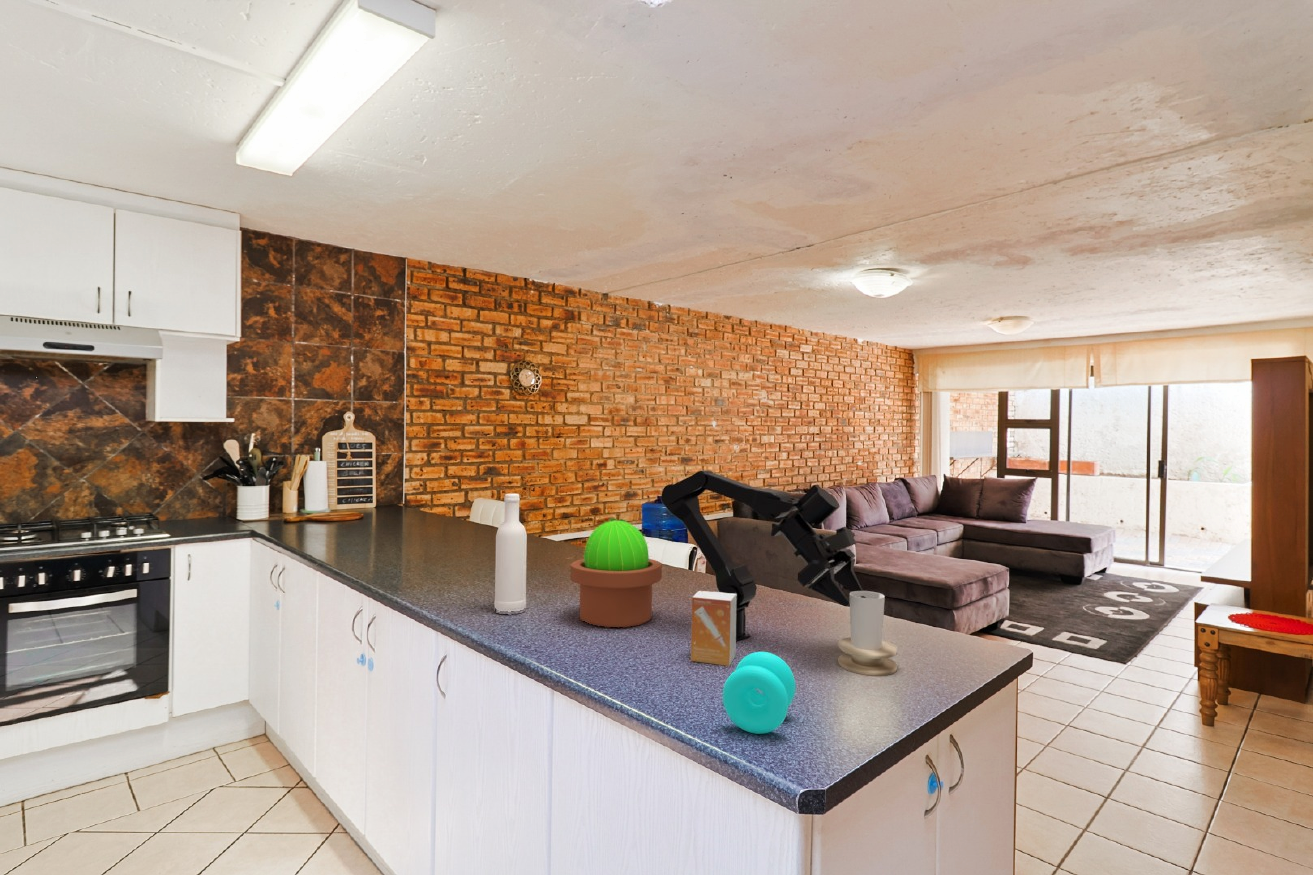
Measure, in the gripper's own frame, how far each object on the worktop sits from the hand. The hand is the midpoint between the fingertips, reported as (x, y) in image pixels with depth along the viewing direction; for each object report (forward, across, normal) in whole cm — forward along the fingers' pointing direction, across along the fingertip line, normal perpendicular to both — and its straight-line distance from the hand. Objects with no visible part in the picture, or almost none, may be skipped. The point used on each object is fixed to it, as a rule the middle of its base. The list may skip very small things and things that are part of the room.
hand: (855, 600), depth 129 cm
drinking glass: (+8, 0, +4) cm, 9 cm away
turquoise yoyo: (+7, -37, +11) cm, 39 cm away
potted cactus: (-32, -4, +50) cm, 60 cm away
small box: (-8, -16, +26) cm, 31 cm away
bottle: (-49, -16, +68) cm, 86 cm away
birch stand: (+11, 0, +7) cm, 13 cm away
